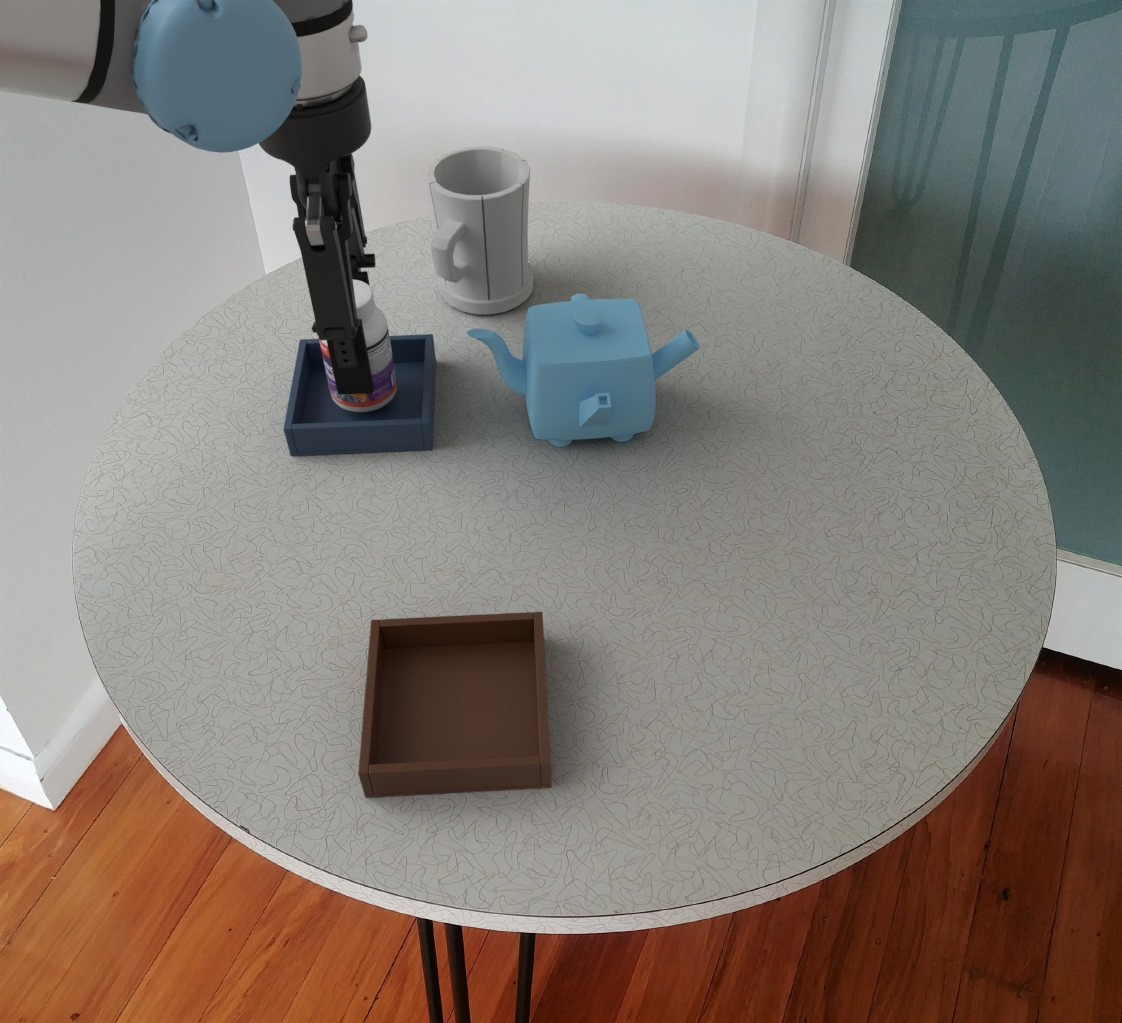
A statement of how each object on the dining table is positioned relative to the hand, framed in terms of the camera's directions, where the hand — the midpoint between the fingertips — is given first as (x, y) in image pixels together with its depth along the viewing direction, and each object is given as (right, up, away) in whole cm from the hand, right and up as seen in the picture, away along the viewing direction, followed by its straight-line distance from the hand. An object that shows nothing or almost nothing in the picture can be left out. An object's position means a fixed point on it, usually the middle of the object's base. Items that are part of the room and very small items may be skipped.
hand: (358, 365), depth 85 cm
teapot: (+18, -4, +2) cm, 19 cm away
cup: (+9, +8, +14) cm, 19 cm away
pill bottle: (0, -2, +2) cm, 3 cm away
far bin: (0, -3, +3) cm, 4 cm away
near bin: (+10, -25, -17) cm, 31 cm away
